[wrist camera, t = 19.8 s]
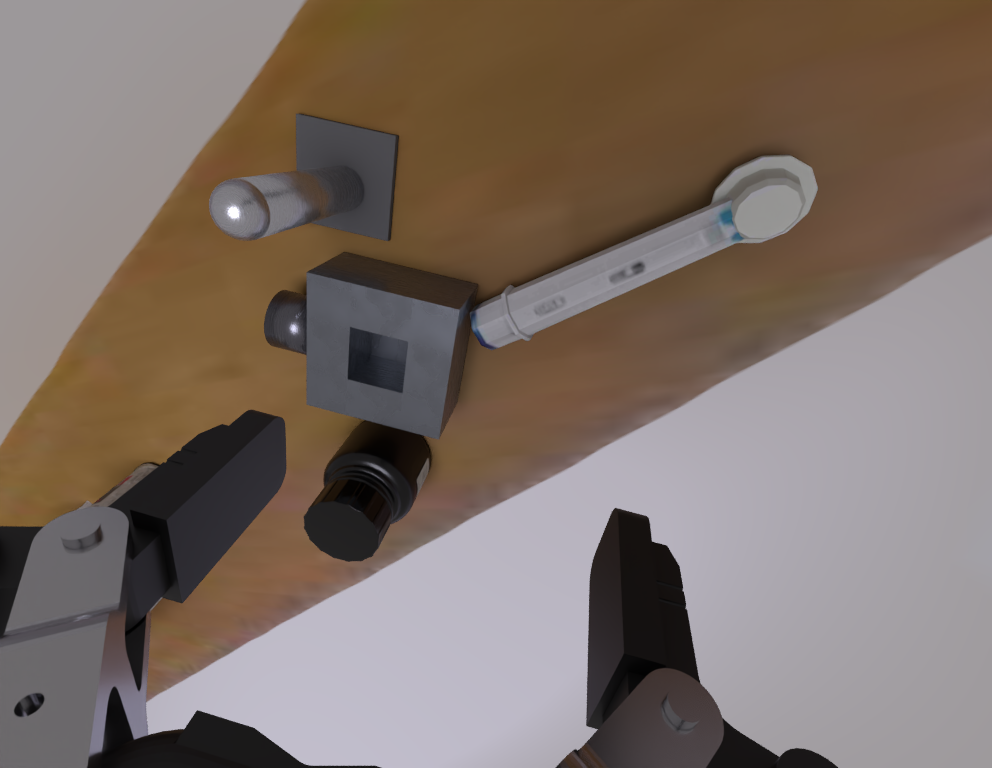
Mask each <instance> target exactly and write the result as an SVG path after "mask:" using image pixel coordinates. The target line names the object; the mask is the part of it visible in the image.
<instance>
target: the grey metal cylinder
mask: <svg viewBox="0 0 992 768" xmlns="http://www.w3.org/2000/svg"><path fill="white" fill-rule="evenodd" d="M363 197H364V185H363V182H362V180H361V178H360V176H359V175H358V174H357V173H356V172H355V171H354V170H353V169H351V168H350V167H347V166H343V165H340V166H332V167H324V168H316V169H308V170H300V171H291V172H283V173H275V174H267V175H259V176H251V177H243V178H235V179H229V180H226V181H224V182H222V183H220V184H219V185H218V186H217V187H216V188H215V189H214V191H213V192H212V194H211V197H210V201H209V209H210V214H211V217H212V219H213V221H214V223H215V224H216V225H217V227H218V228H219V229H220V230H221V231H222V232H224V233H225V234H226V235H228V236H230V237H232V238H235V239H238V240H243V241H250V240H256V239H259V238H262V237H266V236H269V235H272V234H275V233H279V232H282V231H285V230H288V229H292V228H295V227H298V226H301V225H305V224H308V223H311V222H314V221H318V220H321V219H324V218H327V217H331V216H334V215H337V214H341V213H344V212H347V211H350V210H353V209H355V208H357V207H358V206H359V205H360V204H361V202H362V200H363Z"/></svg>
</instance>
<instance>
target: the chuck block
mask: <svg viewBox="0 0 992 768" xmlns="http://www.w3.org/2000/svg"><path fill="white" fill-rule="evenodd" d="M477 287H478V284H475V283H471V282H467V281H463V280H458V279H454V278H450V277H446V276H442V275H438V274H434V273H430V272H425V271H421V270H417V269H413V268H409V267H405V266H401V265H396V264H392V263H388V262H384V261H380V260H376V259H372V258H367V257H363V256H359V255H355V254H351V253H347V252H343V253H341V254H340V255H338V256H336V257H334V258H332V259H330V260H329V261H327V262H325V263H323V264H321V265H319V266H317V267H316V268H314V269H312V270H310V271H308V272H307V295H304V294H300V293H296V292H292V291H288V290H282V291H280V292H278V293H277V294H276V295H275V296H274V297H273V299H272V300H271V302H270V304H269V306H268V309H267V312H266V316H265V321H264V332H265V337H266V340H267V342H268V343H269V344H270V345H271V346H274V347H278V348H282V349H286V350H290V351H294V352H297V353H301V354H305V355H307V405H310V406H314V407H318V408H322V409H326V410H329V411H333V412H337V413H341V414H344V415H348V416H352V417H356V418H360V419H363V420H367V421H371V422H375V423H379V424H382V425H386V426H390V427H394V428H397V429H401V430H405V431H409V432H413V433H416V434H420V435H424V436H428V437H431V438H435V439H439V438H440V436H441V434H442V432H443V430H444V428H445V426H446V424H447V422H448V420H449V418H450V416H451V414H452V412H453V410H454V408H455V406H456V404H457V402H458V396H459V390H460V385H461V379H462V373H463V367H464V362H465V356H466V350H467V344H468V339H469V333H470V327H471V318H470V312H471V311H472V310H473V308H474V304H475V299H476V293H477Z"/></svg>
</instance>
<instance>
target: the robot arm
mask: <svg viewBox="0 0 992 768" xmlns="http://www.w3.org/2000/svg"><path fill="white" fill-rule="evenodd" d="M285 473H286V436H285V422H284V420H283V418H281V417H278V416H274V415H270V414H266V413H263V412H259V411H255V410H248V411H246V412H245V413H244V414H242V415H241V416H240V417H239V418H238V419H237V420H235V421H234V422H233V423H232V424H231V425H229V426H227V425H223V424H221V425H219V426H217V427H214V428H212V429H210V430H207V431H205V432H203V433H200V434H198V435H197V436H196V437H195V438H193V439H192V440H191V441H190V442H188V443H187V444H186V445H185V446H183V447H182V449H181V451H177V452H176V453H175V454H173V455H172V456H171V457H170V458H168V459H167V462H166V463H164V462H163V463H162V464H161V465H160V466H158V467H157V468H156V469H155V470H153V471H152V472H151V473H150V474H148V475H147V476H146V477H145V478H143V479H142V480H141V481H139V482H138V483H137V484H136V485H134V486H133V487H132V488H131V489H129V490H128V491H127V492H126V493H124V494H123V495H122V496H121V497H119V498H118V499H117V500H116V501H114V502H113V503H112V504H111V505H109V506H108V507H88V508H83V509H78V510H75V511H72V512H69V513H66V514H64V515H62V516H60V517H58V518H56V519H54V520H53V521H51V522H49V523H48V524H47V525H45V526H44V527H8V526H0V768H380V767H377V766H309V765H305V764H303V763H301V762H299V761H298V760H297V759H295V758H294V757H293V756H291V755H290V754H289V753H287V752H286V751H284V750H283V749H282V748H280V747H279V746H278V745H276V744H275V743H274V742H272V741H271V740H269V739H268V738H267V737H266V736H264V735H263V734H261V733H260V732H259V731H257V730H256V729H255V728H252V727H249V726H246V725H243V724H240V723H236V722H233V721H229V720H227V719H224V718H220V717H217V716H214V715H210V714H208V713H204V712H201V711H196V713H195V714H194V716H193V717H192V719H191V720H190V722H189V723H188V725H187V726H186V728H185V729H178V730H171V731H163V732H159V733H155V734H151V735H148V725H147V716H146V691H147V675H148V659H149V643H150V628H151V613H150V609H151V608H152V607H153V606H154V605H155V604H156V603H157V602H158V601H159V599H160V598H161V597H162V598H166V599H169V600H173V601H176V602H179V603H183V602H184V601H185V600H186V598H187V597H188V596H189V595H190V594H191V593H192V591H193V590H194V589H195V588H196V587H197V586H198V584H199V583H200V582H201V581H202V580H203V579H204V577H205V576H206V575H207V574H208V573H209V572H210V570H211V569H212V568H213V567H214V566H215V564H216V563H217V562H218V561H219V560H220V559H221V557H222V556H223V555H224V554H225V553H226V552H227V550H228V549H229V548H230V547H231V546H232V545H233V543H234V542H235V541H236V540H237V539H238V538H239V536H240V535H241V534H242V533H243V532H244V531H245V529H246V528H247V527H248V526H249V525H250V523H251V522H252V521H253V520H254V519H255V518H256V516H257V515H258V514H259V513H260V512H261V511H262V509H263V508H264V507H265V506H266V505H267V504H268V502H269V501H270V500H271V499H272V498H273V497H274V495H275V494H276V493H277V492H278V490H279V489H280V487H281V485H282V483H283V480H284V477H285ZM682 590H683V584H682V578H681V573H680V567H679V565H678V564H677V562H676V560H675V558H674V557H673V555H672V553H671V552H670V550H669V548H668V547H667V546H666V545H662V544H659V543H655V542H652V540H651V531H650V523H649V518H648V517H647V516H644V515H640V514H636V513H632V512H629V511H625V510H621V509H617V508H615V509H614V510H613V511H612V514H611V516H610V518H609V521H608V523H607V526H606V528H605V531H604V533H603V535H602V538H601V540H600V543H599V545H598V548H597V550H596V553H595V556H594V559H593V563H592V568H591V574H590V594H589V635H588V678H587V680H588V681H587V722H586V725H587V726H588V727H592V728H595V729H598V730H597V731H596V733H595V734H594V735H593V736H592V737H591V738H590V739H589V740H588V741H587V743H585V745H584V746H583V747H582V748H580V749H579V750H578V751H577V750H573V751H572V752H571V753H570V754H569V755H567V756H566V757H565V758H564V759H563V760H562V761H561V763H560V764H559V765H558V766H557V767H556V768H838V767H837V766H836V765H834V764H833V763H832V762H830V761H829V760H828V759H826V758H824V757H823V756H821V755H819V754H817V753H815V752H813V751H810V750H806V749H799V748H795V749H790V750H788V751H786V752H784V753H783V754H782V755H781V756H780V757H778V756H777V755H775V754H774V753H772V752H771V751H769V750H767V749H765V748H764V747H762V746H761V745H759V744H758V743H756V742H754V741H753V740H751V739H749V738H748V737H746V736H745V735H743V734H742V733H740V732H739V731H737V730H736V729H734V728H733V727H732V726H731V725H730V724H728V723H727V722H726V721H725V720H724V719H723V718H722V716H721V713H720V710H719V708H718V706H717V704H716V702H715V701H714V699H713V698H712V696H711V695H710V694H709V693H708V691H707V690H706V689H705V688H704V687H703V686H702V685H701V684H700V680H699V676H698V670H697V665H696V659H695V653H694V648H693V642H692V636H691V630H690V624H689V619H688V613H687V610H686V609H685V608H686V601H685V596H684V592H683V591H682Z"/></svg>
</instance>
